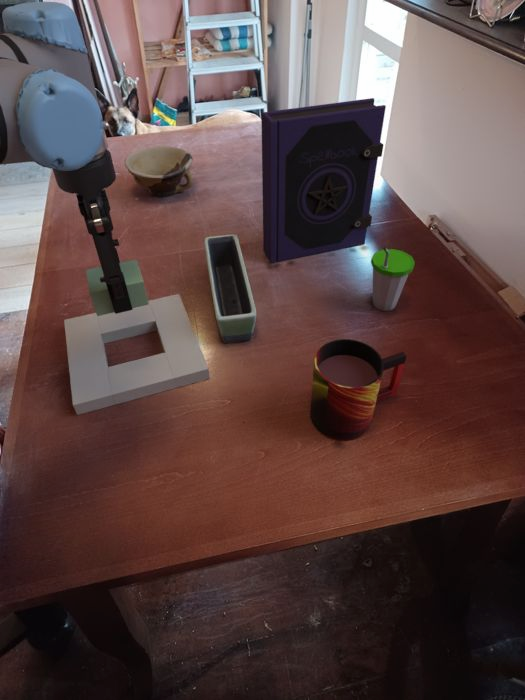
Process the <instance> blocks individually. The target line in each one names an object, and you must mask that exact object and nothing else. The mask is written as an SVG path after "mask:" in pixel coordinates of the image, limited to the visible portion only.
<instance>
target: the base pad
mask: <svg viewBox="0 0 525 700" xmlns="http://www.w3.org/2000/svg"><path fill="white" fill-rule="evenodd" d="M148 303H149V305H145V306H140V307H136V308H132V309H133V310H130V311H126V312H121V313H117V314H115V312H114V313H110V314H105V315H101V316H97V314H96V312H92V313H88V314H85V315H80V316H79V315H78V316H75V317H71V318H67V319H64V320H63V325H64V332H65V333H64V334H65V342H66V343H65V344H66V353H67V362H68V371H69V381H70V393H71V401H72V402H71V403H72V407H73V409H74V412H75V414H76V415H77V416H79V415H83V414H87V413H90V412H93V411H97V410H101V409H105V408H108V407H111V406H115V405H119V404H123V403H127V402H131V401H134V400H138V399H142V398H144V397H148V396H152V395H156V394H159V393H163V392H166V391H171V390H174V389H178V388H181V387H185V386H188V385H192V384H195V383H200V382H203V381H206V380H210V379H211V376H210V375H211V374H210V369H209V366H208V363H207V361H206V359H205V356H204V354H203V351H202V349H201V345H200V343H199V341H198V339H197V336H196V334H195V333H196V332H195V330H194V328H193V325H192V323H191V321H190V318H189V316H188V313H187V310H186V308H185V305H184V303H183V301H182V297H181V295H180V293H177V294H171V295H167V296H163V297H159V298H155V299H150V300H148ZM154 332H157V333H158V337H159V340H160V343H161V346H162V349H163V352H161V353H157V354H153V355H150V356H146V357H142V358H139V359H135V360H131V361H127V362H122V363H118V364H115V365H110V366H109V364H108V358H107V352H106V347H105V344H108V343H112V342H116V341H117V342H118V341H121V340H125V339H129V338H133V337H136V336H141V335H146V334H150V333H154Z"/></svg>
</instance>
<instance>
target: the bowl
mask: <svg viewBox="0 0 525 700" xmlns="http://www.w3.org/2000/svg"><path fill="white" fill-rule="evenodd" d="M192 164H193V156H192V154H191V153H190V152H189V151H188V150H186V149H184V148H181V147H177V146H170V145H156V146H155V145H154V146H151V147H150V146H149V147H144V148H141V149H138V150H136V151H133V152H131V153H130V154H128V155H127V156H126V158H124V166H125V169H127V171H128V173H129V174H131V176H132V177H133V180H134V182H136V184H138V185H139V186H141V187H142V188H144V189H145V190H148V192H149V194H151V195H152V196H154V197H158V198H159V197H160V198H164V197H170V196H172V195H174V194H177V193H181V192H185V191H188V190H189V189H190V188H191V187H192V186H193V181H194V180H193V176H192V174H191V170H190V169H191V167H192ZM183 177H184V178H185V180H186V183H184V184H183V183H181V181H182V179H183Z"/></svg>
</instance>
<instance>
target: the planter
mask: <svg viewBox="0 0 525 700" xmlns="http://www.w3.org/2000/svg"><path fill="white" fill-rule="evenodd" d="M203 242H204V250H205V258H206V264H207V271H208V278H209V282H210V289H211V294H212V295H211V296H212V302H213V308H214V314H215V315H214V316H215V320H216V323H217V326H218V329H219V332H220V335H221V338H222V341H223V342H224V344H233V343H239V342H240V343H241V342H249V341H251V340H252V339H253V335H254V331H255V325H256V321H257V309H256V305H255V300H254V296H253V292H252V288H251V284H250V280H249V276H248V272H247V268H246V264H245V261H244V255H243V253H242V248H241V245H240V241H239V237H238V235H237V234H224V235H223V234H222V235H213V236H207V237H204V238H203Z"/></svg>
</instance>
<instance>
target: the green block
mask: <svg viewBox="0 0 525 700" xmlns="http://www.w3.org/2000/svg"><path fill="white" fill-rule="evenodd" d="M119 264H120V268H121V271H122V272H123V275H124V279H125V283H126V286H127V290H128V294H129V298H130V301H131V305H132V308H136V307H140V306H145V305H149V303H148V301H149V299H148V295H147V290H146V286H145V282H144V279H143V275H142V273H141V269H140V266H139V263H138V259H131V260H126V261H122V262H121V261H120V263H119ZM85 275H86V280H87V287H88V292H89V293H88V294H89V296H90V299H91V301H92V304H93V308H94V311H95V313H96V314H97V316H101V315H105V314H110V313H114V312H115V311H114V308H113V305H112V302H111V298H110V295H109V292H108V288H107V285H106V283H105V282H102V283H101V281H100V277H104V274H103V271H102V267H101V266H98V267H92V268H88V269H85Z"/></svg>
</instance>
